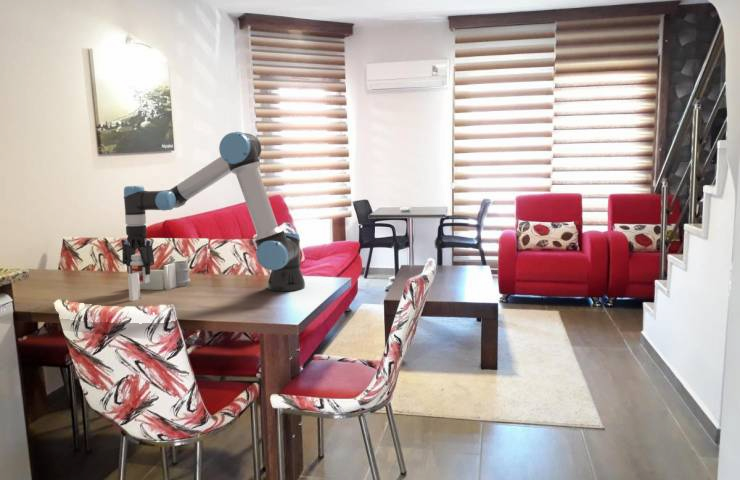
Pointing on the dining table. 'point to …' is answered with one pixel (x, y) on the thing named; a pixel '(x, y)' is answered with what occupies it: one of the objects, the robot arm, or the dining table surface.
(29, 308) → the dining table surface
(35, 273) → the dining table surface
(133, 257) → the pill bottle
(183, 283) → the mug
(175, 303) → the dining table surface
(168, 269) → the frame
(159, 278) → the grey green panel
